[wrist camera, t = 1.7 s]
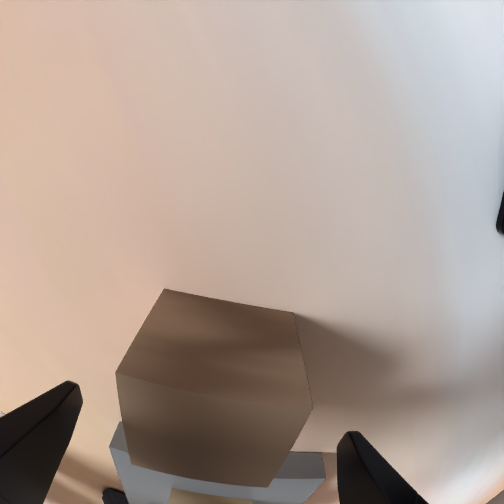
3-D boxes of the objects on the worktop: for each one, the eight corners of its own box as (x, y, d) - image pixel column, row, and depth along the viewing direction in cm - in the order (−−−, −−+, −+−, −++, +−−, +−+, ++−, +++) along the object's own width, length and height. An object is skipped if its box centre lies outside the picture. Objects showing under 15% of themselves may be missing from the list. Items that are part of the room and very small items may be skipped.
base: (321, 452, 15) (325, 478, 13) (272, 514, 18) (273, 532, 16) (119, 421, 14) (109, 446, 12) (137, 493, 18) (132, 510, 16)
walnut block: (292, 311, 11) (313, 407, 7) (264, 398, 13) (267, 487, 8) (164, 287, 11) (115, 372, 6) (160, 379, 13) (131, 464, 8)
